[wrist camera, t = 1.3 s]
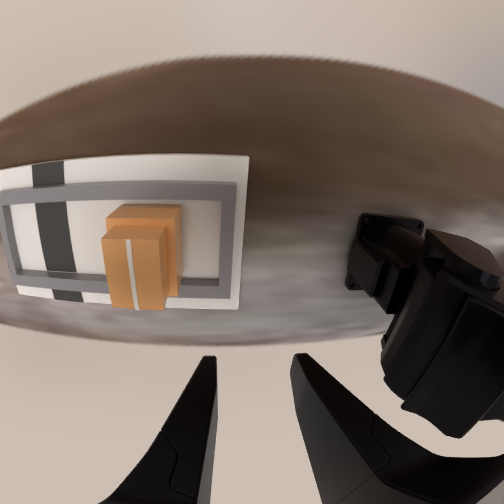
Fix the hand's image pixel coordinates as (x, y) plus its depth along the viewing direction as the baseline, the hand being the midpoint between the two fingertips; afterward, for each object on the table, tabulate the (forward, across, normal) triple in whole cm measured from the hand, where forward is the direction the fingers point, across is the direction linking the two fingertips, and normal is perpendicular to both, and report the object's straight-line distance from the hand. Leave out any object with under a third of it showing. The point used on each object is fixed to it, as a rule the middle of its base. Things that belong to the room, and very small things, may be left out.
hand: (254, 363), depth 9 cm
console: (+12, +10, 0) cm, 15 cm away
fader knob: (+11, +6, 0) cm, 12 cm away
